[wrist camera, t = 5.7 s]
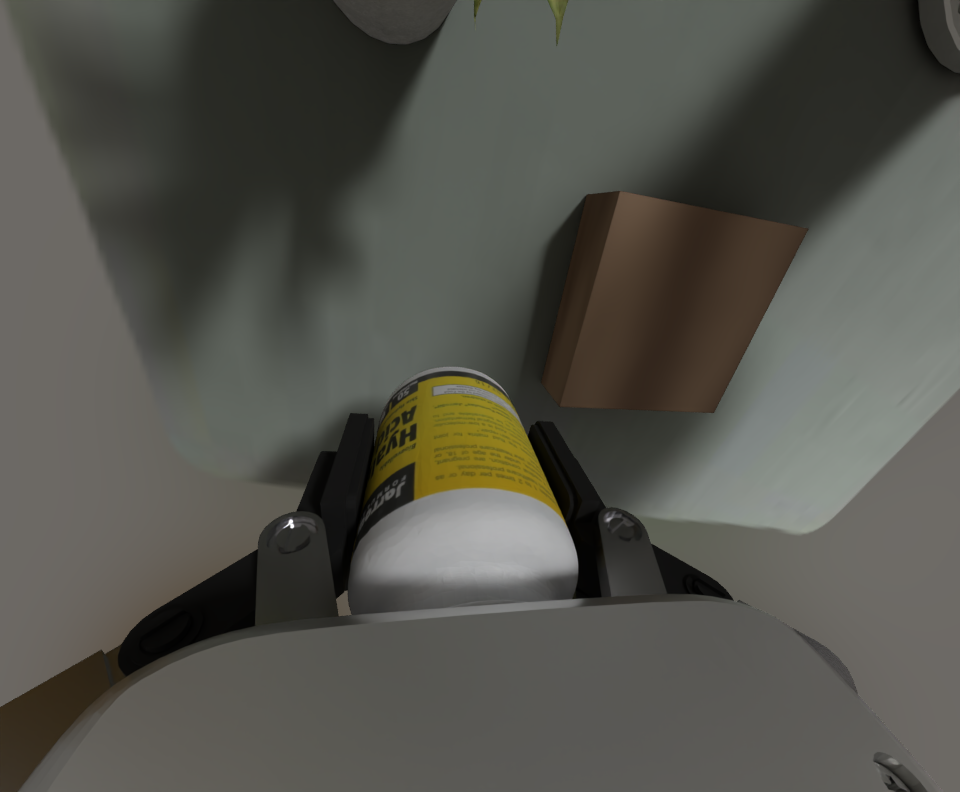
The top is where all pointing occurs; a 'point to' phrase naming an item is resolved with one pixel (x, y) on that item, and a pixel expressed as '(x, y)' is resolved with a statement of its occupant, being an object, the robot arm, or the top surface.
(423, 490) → the supplement bottle
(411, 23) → the house plant
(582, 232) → the walnut riser
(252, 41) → the top surface
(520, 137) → the top surface
